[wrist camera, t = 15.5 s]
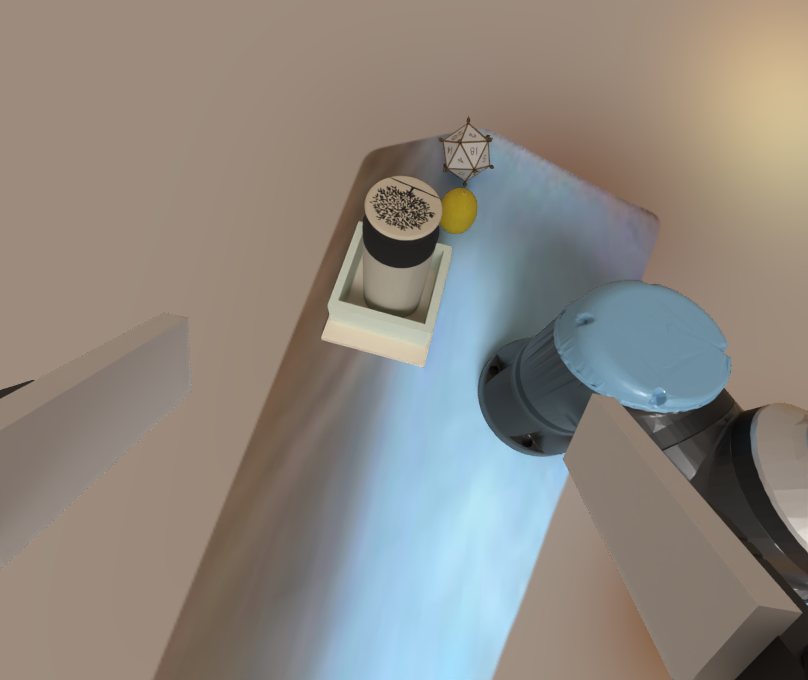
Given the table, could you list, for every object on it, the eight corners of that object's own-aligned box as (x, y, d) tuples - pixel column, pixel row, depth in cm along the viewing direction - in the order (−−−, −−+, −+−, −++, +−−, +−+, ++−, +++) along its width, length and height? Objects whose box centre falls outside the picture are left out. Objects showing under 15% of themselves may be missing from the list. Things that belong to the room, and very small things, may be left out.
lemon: (461, 249, 58) (476, 214, 50) (428, 235, 58) (437, 198, 51) (473, 222, 60) (489, 185, 52) (441, 209, 60) (452, 170, 53)
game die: (451, 196, 66) (433, 178, 57) (444, 147, 66) (425, 121, 57) (503, 182, 62) (493, 160, 53) (496, 130, 62) (485, 99, 53)
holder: (360, 232, 57) (360, 205, 52) (450, 257, 57) (459, 233, 52) (321, 339, 50) (316, 322, 45) (423, 367, 50) (430, 353, 45)
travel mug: (400, 331, 51) (417, 254, 34) (351, 300, 52) (345, 211, 35) (431, 288, 54) (460, 198, 37) (384, 260, 55) (392, 160, 38)
